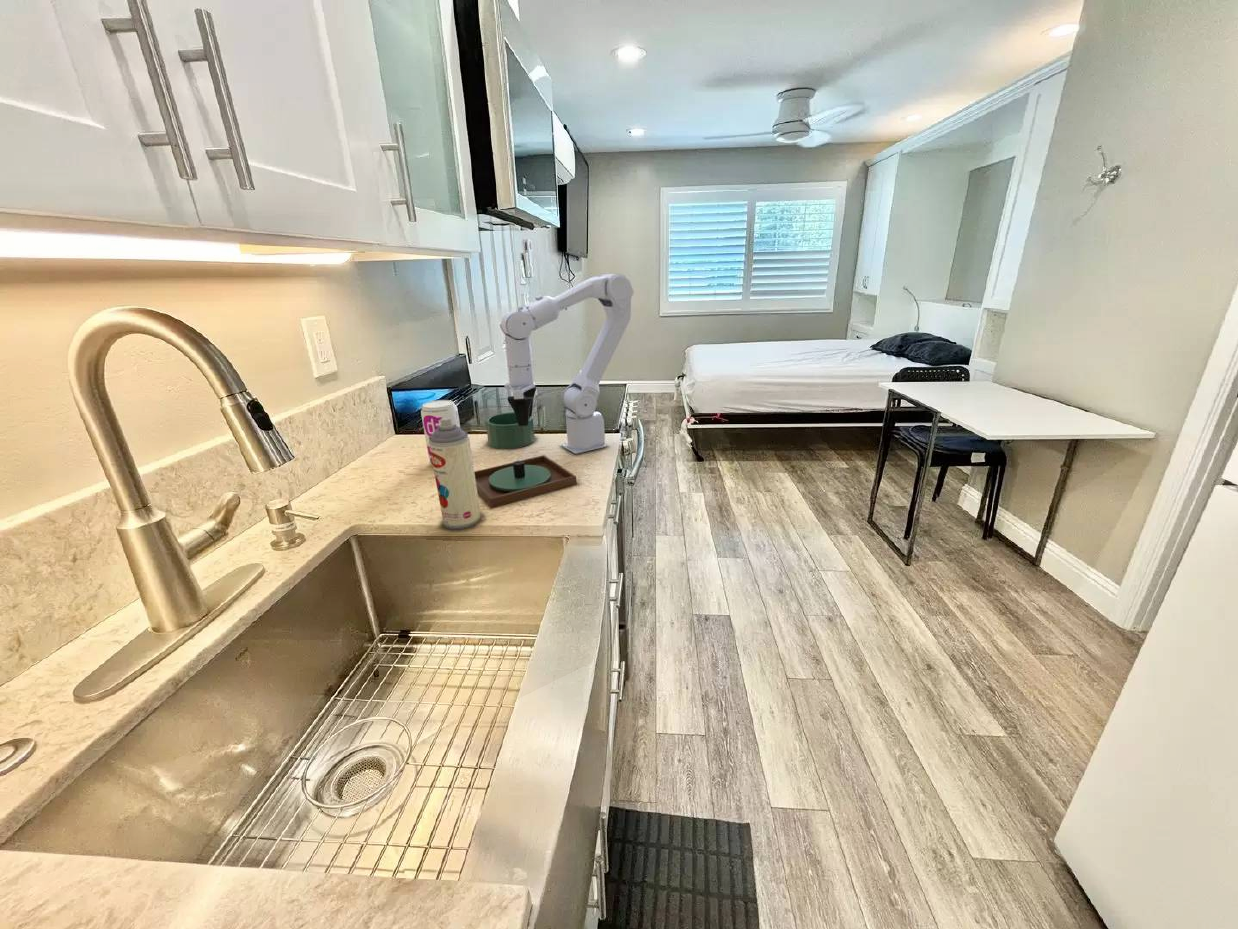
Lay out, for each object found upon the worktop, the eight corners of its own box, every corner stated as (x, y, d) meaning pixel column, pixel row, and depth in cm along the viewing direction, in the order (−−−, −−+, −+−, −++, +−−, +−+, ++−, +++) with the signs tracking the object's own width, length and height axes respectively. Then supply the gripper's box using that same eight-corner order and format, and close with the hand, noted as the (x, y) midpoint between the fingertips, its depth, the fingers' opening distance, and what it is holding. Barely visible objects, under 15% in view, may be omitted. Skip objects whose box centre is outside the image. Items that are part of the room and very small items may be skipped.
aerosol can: (438, 519, 93) (419, 418, 86) (472, 508, 97) (457, 411, 89) (450, 533, 88) (432, 427, 81) (486, 521, 92) (472, 419, 84)
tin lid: (535, 465, 117) (534, 447, 115) (561, 483, 106) (559, 464, 105) (480, 478, 110) (478, 460, 108) (502, 499, 100) (499, 479, 98)
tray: (544, 462, 119) (544, 454, 119) (576, 484, 107) (576, 476, 106) (466, 481, 110) (465, 473, 109) (491, 507, 97) (490, 499, 96)
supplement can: (455, 470, 116) (445, 408, 110) (423, 468, 118) (412, 407, 112) (471, 457, 123) (462, 399, 118) (441, 456, 125) (431, 398, 119)
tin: (524, 431, 143) (521, 409, 140) (542, 442, 133) (540, 419, 131) (482, 439, 136) (479, 417, 134) (498, 452, 127) (495, 428, 124)
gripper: (507, 360, 121) (513, 413, 126) (497, 371, 108) (504, 430, 113) (536, 359, 122) (540, 412, 127) (529, 370, 108) (534, 429, 113)
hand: (525, 420), depth 120 cm, fingers open, 7 cm apart
